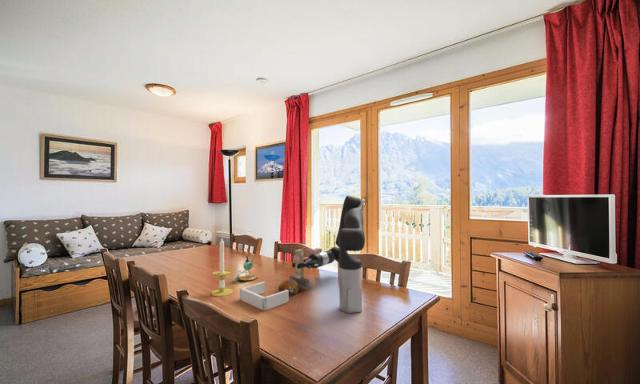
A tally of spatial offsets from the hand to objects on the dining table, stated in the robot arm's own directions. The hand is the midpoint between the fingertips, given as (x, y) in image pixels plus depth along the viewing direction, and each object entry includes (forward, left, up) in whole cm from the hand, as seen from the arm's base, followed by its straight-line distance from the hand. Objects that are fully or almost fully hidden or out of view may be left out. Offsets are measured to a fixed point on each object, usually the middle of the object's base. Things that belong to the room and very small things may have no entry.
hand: (295, 265), depth 139 cm
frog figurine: (+25, +23, -12) cm, 36 cm away
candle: (+7, +35, -12) cm, 37 cm away
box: (-9, +16, -12) cm, 22 cm away
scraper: (+1, -2, -11) cm, 11 cm away
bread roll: (-3, +4, -12) cm, 13 cm away
